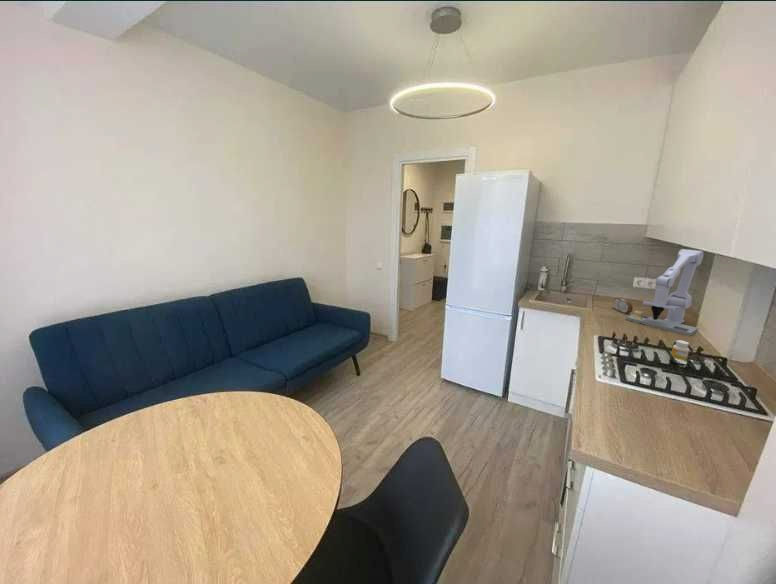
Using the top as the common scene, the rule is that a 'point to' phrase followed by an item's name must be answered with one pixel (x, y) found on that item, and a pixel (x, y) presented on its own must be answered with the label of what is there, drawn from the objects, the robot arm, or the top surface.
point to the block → (638, 315)
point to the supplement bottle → (680, 350)
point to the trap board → (665, 325)
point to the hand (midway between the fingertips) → (655, 319)
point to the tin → (623, 305)
